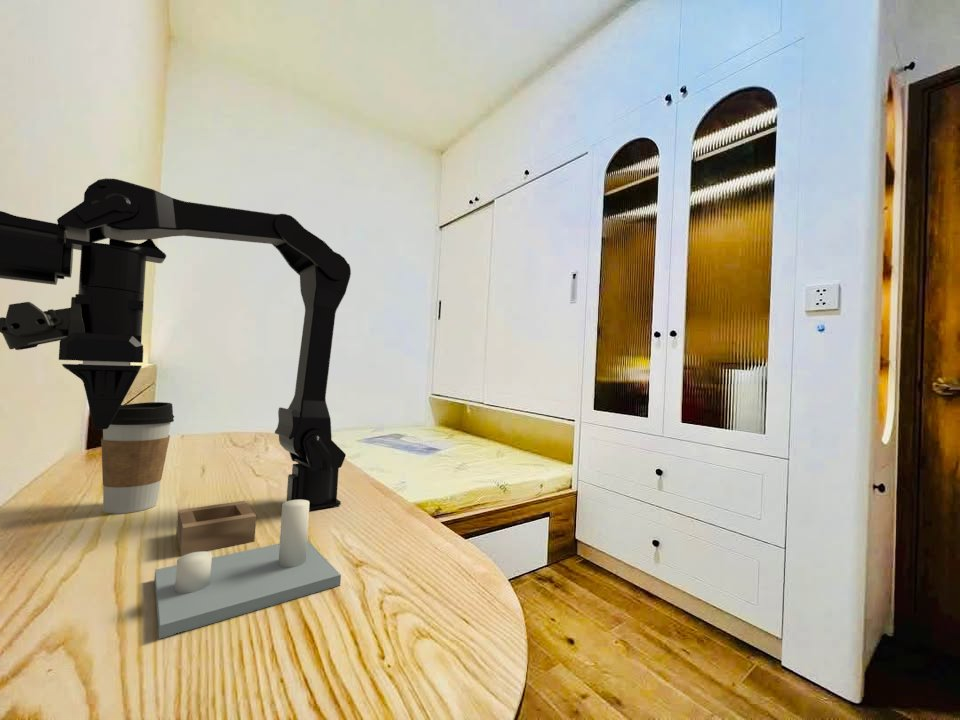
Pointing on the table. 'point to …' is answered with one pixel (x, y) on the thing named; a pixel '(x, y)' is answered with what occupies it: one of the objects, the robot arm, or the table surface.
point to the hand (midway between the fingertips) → (104, 424)
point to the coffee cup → (135, 456)
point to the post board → (242, 578)
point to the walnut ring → (215, 527)
